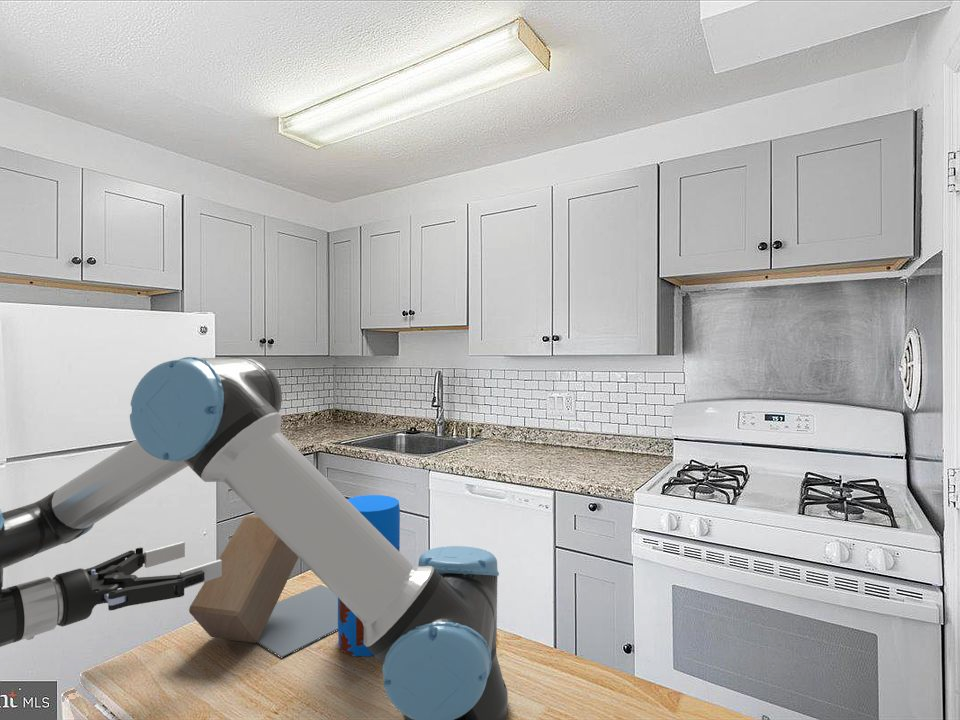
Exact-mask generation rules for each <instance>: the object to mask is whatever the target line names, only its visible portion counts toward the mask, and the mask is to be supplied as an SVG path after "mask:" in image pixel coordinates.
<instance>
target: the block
mask: <svg viewBox="0 0 960 720" xmlns="http://www.w3.org/2000/svg"><path fill="white" fill-rule="evenodd" d="M219 559H220V560H222V576H221V577H218V578H215V579H212V580H209V581H206V582H203V584H202V586H201V587H200V589H199V591H198V592H197V594H196V595H195V597H194V599H193V601H192V603H191V604H190V605H189V609H188V611H189V613H190V615H191V616H192V617H193V618H194V620H195V621H196V622H197V623H198V624H199V625H200V626H201V628H202V629H203V630H204V631H205V632H206V633H207V634H208V636H210V638H214V639H215V638H216V639H223V640H228V641H229V640H230V641H231V640H232V641H238V642H246V643H251V644H252V643H255V644H256V642H257V641H258V640H259V639H260V637H261V635H262V633H263V630H264V628H265V626H266V624H267V622H268V620H269V618H270V616H271V614H272V612H273V610H274V607H275V605H276V603H277V602H279V599H280V596H281V595H282V592H283V590H284V589H285V586H286V584H287V583H288V580H289V578H290V576H291V574H292V572H293V570H294V568H295V565H296V564H297V562H298V559H299V557H298V556H297V555H296V554H295V553H294V552H293V551H292V550H291V549H290V548H289V547H288V546H287V545H286V544H285V543H284V542H283V541H282V540H281V539H280V538H279V537H278V536H277V535H276V534H275V533H274V532H273V531H272V530H271V529H270V528H269V527H268V526H267V525H266V524H265V523H264V522H263V521H262V520H261V519H260V518H259V517H258V516H257V515H256V514H255V515H253V514H248V515H245V516H244V517H242V520H241V522H240V523H239V525H238V527H236V530H235V532H234V533H233V534H232V537H231V538H230V540H229V542H228V543H227V544H226V547H224V550H223V551H222V553H221V554H220V556H219V558H218V559H217V560H219Z"/></svg>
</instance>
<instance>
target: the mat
mask: <svg viewBox="0 0 960 720" xmlns="http://www.w3.org/2000/svg"><path fill="white" fill-rule="evenodd" d="M336 630H338V597H337V596H336V595H335V594H334V593H333V592H332V591H331V590H330V589H329V588H328V587H327V586H326V585H322V584H319V585H317V586H314V587H312V588H309V589H306V590H304V591H302V592H300V593H296V594H294V595H292V596H288V598H284V599H282V600H280V601H279V600H278V601H277V603H276V605H275V607H274V610H273V612H272V614H271V616H270V618H269V620H268V622H267V624H266V626H265V628H264V630H263V633H262V635H261V637H260V639H259V640H258V641H257V643H256V644H258V643H259V644H260V646H261V645H262V646H264V647H266V648H267V649H269V650H270V651H272V652H273V653H272V652H271V653H272V654H274V653H276V654H277V655H279V656H280V657H284V656H286V655H288V654H290V653H292V652H294V651H296V650H298V649H300V648H302V647H304V648H306V647H308V646H310V645H311V644H310V643H312V642H314V641H316V640H318V639H319V638H322V637H324V636H325V635H328V634H330V633H332V632H334V631H336ZM336 632H337V631H336ZM334 633H335V632H334ZM332 634H333V633H332ZM330 635H331V634H330ZM328 636H329V635H328ZM324 638H325V637H324ZM322 639H323V638H322ZM318 641H319V640H318ZM316 642H317V641H316ZM314 643H315V642H314ZM259 644H258V645H259ZM309 644H310V645H309ZM312 644H313V643H312ZM307 645H308V646H307ZM262 646H261V647H262ZM305 646H306V647H305ZM264 647H263V648H264ZM266 648H265V649H266ZM267 649H266V650H267ZM302 649H303V648H302ZM269 650H268V651H269ZM300 650H301V649H300ZM270 651H269V652H270ZM298 651H299V650H298ZM296 652H297V651H296ZM294 653H295V652H294ZM292 654H293V653H292ZM277 655H276V656H277ZM290 655H291V654H290ZM288 656H289V655H288ZM280 657H279V658H280ZM286 657H287V656H286ZM284 658H285V657H284Z"/></svg>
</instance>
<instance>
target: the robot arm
mask: <svg viewBox="0 0 960 720" xmlns="http://www.w3.org/2000/svg"><path fill="white" fill-rule="evenodd" d="M282 402H283V392H282V387H281V385H280V382H279V379H278V378H277V376H276V375H275V373H274V372H273V371H272V370H271V369H270V368H269V367H268V366H266V365H265V364H264V363H262V362H260V361H257V360H255V359H252V358H248V357H243V356H242V357H241V356H237V357H236V356H234V357H233V356H232V357H195V356H186V357H182V358H179V359H174V360H168V361H165V362H162V363H160V364H158V365H155V366H154V367H153V368H151V369H150V370H149V371H148V372H146V374H144V376H143V377H142V378H141V379H140V381H139V382H138V384H137V385H136V387H135V389H134V391H133V394H132V396H131V400H130V406H131V413H130V414H129V423H130V427H131V431H132V433H133V435H134V438H135V440H133V441H131V442H130V443H129V444H127V445H125V446H124V447H122V448H120V449H118V450H117V451H116V452H114V453H113V454H111V455H109V456H107V457H106V458H104V459H103V460H101V461H100V462H98V463H97V464H95V465H94V466H92V467H90V468H88V469H86V471H84V472H82V473H81V474H78V476H75V478H73V479H72V480H70V481H68V482H66V483H65V484H63V485H62V486H60V487H59V488H57V489H56V490H55V491H52V492H51V493H49V494H48V495H46V496H45V497H43V498H41V499H39V500H37V501H35V502H33V503H29V504H27V505H23V506H20V507H17V508H14V509H11V510H8V511H4V512H3V511H2V509H1V508H0V648H1V647H5V646H7V645H10V644H13V643H17V642H20V641H23V640H27V641H31V640H33V639H34V638H35V636H37V635H40V634H44V633H46V632H50V631H52V630H55V629H56V627H57V626H59V627H62V628H63V627H66V626H68V625H73V624H75V623H78V622H81V621H83V620H87V619H88V618H89V617H90V616H91V614H92V613H93V610H94V608H95V607H96V606H97V605H102V604H107V605H108V606H107V607H108V611H116V610H118V609H119V610H120V609H122V608H125V607H128V606H135V605H143V604H147V603H154V602H159V601H165V600H172V599H177V598H183V597H184V596H185V589H187V588H190V587H194V586H197V585H200V584H202V583H203V584H204V582H206V581H209V580H212V579H215V578H218V577H221V576H222V560H220V559H219V558H218V559H219V560H218V559H216V560H213V561H210V562H207V563H204V564H201V565H196V566H194V567H191V568H188V569H184V570H181V571H179V574H169V575H168V574H167V575H156V576H155V575H154V576H153V575H152V576H143V577H142V576H141V577H138V576H137V575H136V574H134V573H135V572H137V571H138V570H139V569H141V568H143V567H144V568H146V569H147V568H151V567H154V566H157V565H161V564H165V563H168V562H171V561H175V560H179V559H181V558H185V554H186V553H185V552H186V551H185V550H186V543H185V541H180V542H176V543H172V544H168V545H164V546H161V547H158V548H153V549H150V550H146V551H144V547H137V548H135V550H132V549H131V550H128V551H126V552H124V553H121V554H119V555H117V556H115V557H112V558H110V559H108V560H106V561H103V562H100V563H98V564H96V565H95V566H92V567H89V568H86V569H84V568H76V569H72V570H69V571H65V572H61V573H58V574H55V576H54V577H52V578H51V577H49V576H45V577H41V578H37V579H33V580H30V581H26V582H23V583H19V584H15V585H12V586H9V587H6V588H3V586H4V585H3V583H4V569H6V568H8V567H10V566H12V565H14V564H17V563H20V562H22V561H25V560H27V559H29V558H32V557H34V556H36V555H38V554H40V553H43V552H46V551H49V550H50V549H53V548H56V547H58V546H61V545H63V544H65V545H66V544H67V543H70V542H72V541H74V540H76V539H79V538H80V537H81V536H83V535H85V534H86V533H88V532H90V531H91V529H92V528H93V526H94V525H95V524H96V523H97V522H100V521H101V520H103V519H104V518H105V517H107V516H109V515H110V514H112V513H113V512H115V511H117V510H119V509H120V508H122V507H123V506H125V505H127V504H129V503H131V502H132V501H134V500H135V499H136V498H138V497H140V496H141V495H144V494H145V493H146V492H149V491H150V490H152V489H153V488H155V487H156V486H158V485H159V484H161V483H162V482H164V481H167V480H168V479H169V478H171V477H173V476H174V475H176V474H177V473H179V472H180V471H182V470H184V469H185V468H187V467H189V468H190V469H191V470H192V471H193V472H194V473H195V474H196V475H197V476H198V477H199V478H200V479H201V480H202V481H203V482H205V483H207V482H208V483H212V482H213V483H214V482H215V483H223V484H226V485H227V486H228V488H229V489H231V490H232V492H234V494H236V495H237V497H238V498H239V499H241V501H242V502H244V503H245V505H246V506H247V507H248V508H249V509H250V510H251V511H253V513H254V514H255V516H258V517H259V518H260V519H261V520H262V521H263V522H264V523H265V524H266V525H267V526H268V527H269V528H270V529H271V530H272V531H273V532H274V533H275V534H276V535H277V536H278V537H279V538H280V539H281V540H282V541H283V542H284V543H285V544H286V545H287V546H288V547H289V548H290V549H291V550H292V551H293V552H294V553H295V554H296V555H297V556H298V559H299V560H301V562H302V563H303V564H305V565H306V567H307V568H309V570H310V571H311V572H312V573H313V574H314V575H315V576H316V577H317V578H318V579H319V580H320V581H321V582H322V583H323V584H324V586H325V587H327V588H329V589H330V590H331V591H332V592H333V593H334V594H335V595H336V596H337V597H338V598H339V599H340V600H341V601H342V602H343V603H344V604H345V605H346V606H347V607H348V608H349V609H350V610H351V611H352V612H353V613H354V614H355V615H356V616H357V617H358V618H359V619H360V620H361V621H362V623H363V626H364V645H365V646H366V647H367V648H368V649H369V650H370V651H371V652H372V653H373V654H374V657H375V658H376V659H377V660H378V661H379V662H380V663H381V664H382V667H381V669H382V677H383V678H382V679H383V688H384V690H385V693H386V696H387V698H388V699H389V701H390V703H391V704H392V705H393V706H394V708H395V709H397V710H398V711H399V712H400V713H401V714H402V715H404V716H405V718H406V720H505V719H506V717H507V715H508V710H509V709H508V708H509V707H508V700H509V698H508V697H509V696H508V694H509V693H508V689H507V685H506V683H505V682H506V681H505V680H504V678H503V674H502V670H501V667H500V663H499V659H498V656H497V643H498V641H497V638H498V637H497V636H498V635H497V632H498V631H497V630H498V626H497V625H498V577H499V576H500V572H499V571H498V560H497V558H496V556H495V555H494V554H493V553H492V552H490V551H488V550H486V549H482V548H478V547H474V546H460V545H455V546H453V545H450V546H439V547H435V548H431V549H428V550H425V551H424V552H423V553H422V554H421V555H420V556H419V558H418V564H417V565H418V566H417V565H414V564H412V562H410V561H409V560H408V559H407V558H406V557H405V556H404V555H403V554H402V552H400V550H399V551H398V550H397V549H396V548H395V547H394V546H393V545H392V544H391V543H390V542H389V541H388V540H387V539H386V538H385V537H384V536H383V535H382V534H381V533H380V532H379V531H378V530H377V529H376V528H375V527H374V526H373V525H372V524H371V523H370V522H369V521H368V520H367V519H366V518H365V517H364V516H363V515H362V514H361V513H360V512H359V511H358V510H357V509H356V508H355V507H354V506H353V505H352V504H351V503H350V502H349V501H348V500H347V499H348V498H346V497H345V496H344V495H343V494H342V492H341V491H339V489H337V487H335V486H334V485H333V484H332V483H331V482H330V481H329V480H328V478H327V477H325V475H323V474H322V472H320V471H319V469H318V468H316V466H315V465H314V464H312V462H311V461H309V459H307V458H306V456H304V455H303V454H302V453H301V451H299V449H298V448H297V447H295V445H294V444H293V443H292V442H290V440H289V439H287V437H286V436H285V435H284V433H282V429H281V425H282V424H281V423H282V415H281V414H280V411H281V408H282Z"/></svg>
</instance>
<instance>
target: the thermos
mask: <svg viewBox="0 0 960 720" xmlns="http://www.w3.org/2000/svg"><path fill="white" fill-rule="evenodd" d="M346 499H347V500H348V501H349V502H350V503H351V504H352V505H353V506H354V507H355V508H356V509H357V510H358V511H359V512H360V513H361V514H362V515H363V516H364V517H365V518H366V519H367V520H368V521H369V522H370V523H371V524H372V525H373V526H374V527H375V528H376V529H377V530H378V531H379V532H380V533H381V534H382V535H383V536H384V537H385V538H386V539H387V540H388V541H389V542H390V543H391V544H392V545H393V546H394V547H395V548H396V549H397V550H398V551H399V552H400V543H401V542H400V539H401V538H400V536H401V535H400V534H401V533H400V532H401V531H400V529H401V527H400V526H401V525H400V523H401V509H400V508H401V507H400V500H399V499H397V498H396V497H392V496H389V495H382V494H370V495H369V494H367V495H366V494H365V495H359V496H353V497H349V498H346ZM337 632H338V633H337V634H338V646H339V648H340V651H342V650H343V651H345V652H346V653H345V652H344V653H345V654H347V655H349V654H350V656H353V655H354V657H358V656H363V657H364V656H366V657H368V658H369V657H373V656H374V657H375V655H374V654H373V653H372V652H371V651H370V650H369V649H368V648H367V647H366V646H365V645H364V626H363V623H362V621H361V620H360V619H359V618H358V617H357V616H356V615H355V614H354V613H353V612H352V611H351V610H350V609H349V608H348V607H347V606H346V605H345V604H344V603H343V602H342V601H341V600H340V599H339V598H338V631H337ZM343 651H342V652H343ZM366 657H365V658H366Z"/></svg>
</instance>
